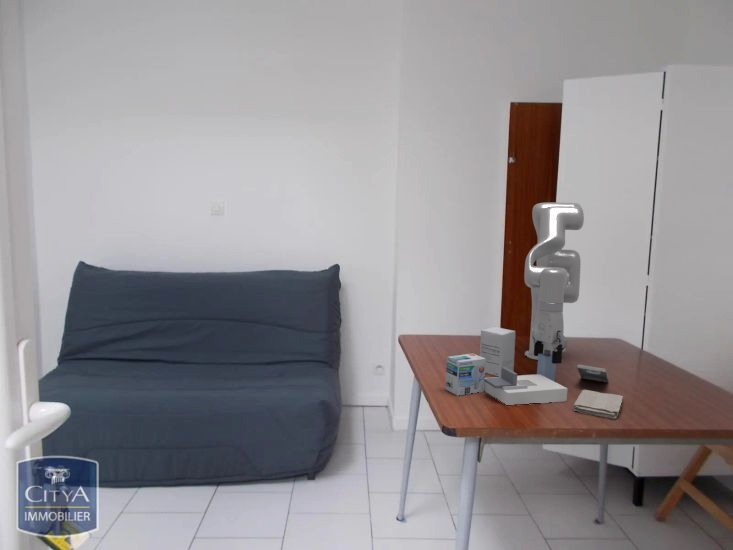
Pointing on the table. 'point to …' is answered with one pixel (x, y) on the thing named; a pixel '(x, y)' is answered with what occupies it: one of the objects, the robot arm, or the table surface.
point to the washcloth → (598, 404)
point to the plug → (546, 365)
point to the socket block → (529, 391)
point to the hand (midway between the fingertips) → (547, 359)
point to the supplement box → (497, 349)
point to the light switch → (593, 373)
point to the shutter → (503, 379)
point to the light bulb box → (465, 374)
